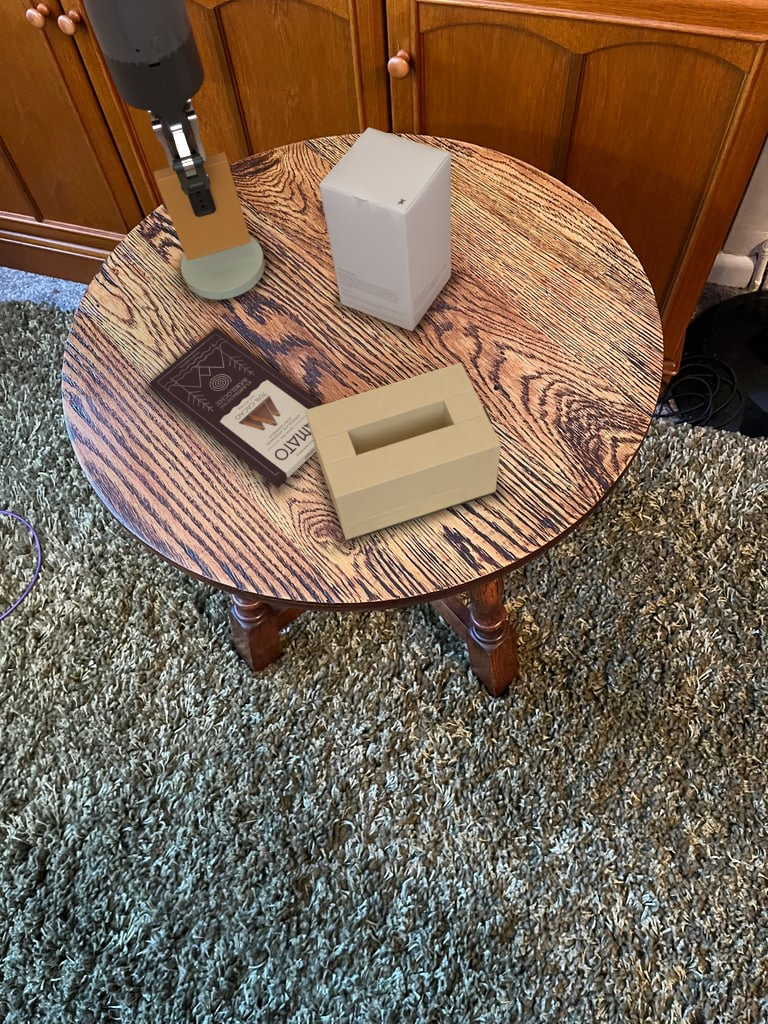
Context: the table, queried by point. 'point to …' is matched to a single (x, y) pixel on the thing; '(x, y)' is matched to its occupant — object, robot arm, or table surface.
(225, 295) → the plate
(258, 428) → the chocolate bar
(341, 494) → the toaster
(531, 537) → the table surface
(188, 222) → the toast
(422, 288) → the white product box
